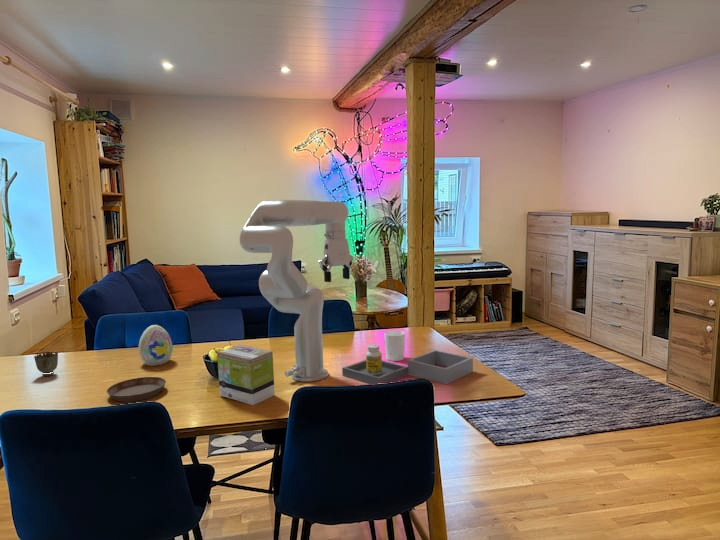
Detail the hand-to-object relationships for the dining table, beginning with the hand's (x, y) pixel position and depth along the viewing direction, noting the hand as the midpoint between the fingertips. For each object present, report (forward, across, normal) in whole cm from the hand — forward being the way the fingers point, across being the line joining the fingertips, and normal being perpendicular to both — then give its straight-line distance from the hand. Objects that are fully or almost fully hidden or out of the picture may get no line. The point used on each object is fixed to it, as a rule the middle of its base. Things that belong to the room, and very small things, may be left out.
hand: (337, 280), depth 194 cm
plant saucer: (+31, -69, +23) cm, 79 cm away
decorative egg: (+31, -50, +51) cm, 78 cm away
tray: (+30, -7, -25) cm, 40 cm away
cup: (+31, -83, +68) cm, 112 cm away
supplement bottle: (+30, -7, -25) cm, 39 cm away
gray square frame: (+30, +9, -41) cm, 52 cm away
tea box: (+31, -47, -7) cm, 57 cm away
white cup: (+31, +12, -18) cm, 37 cm away
